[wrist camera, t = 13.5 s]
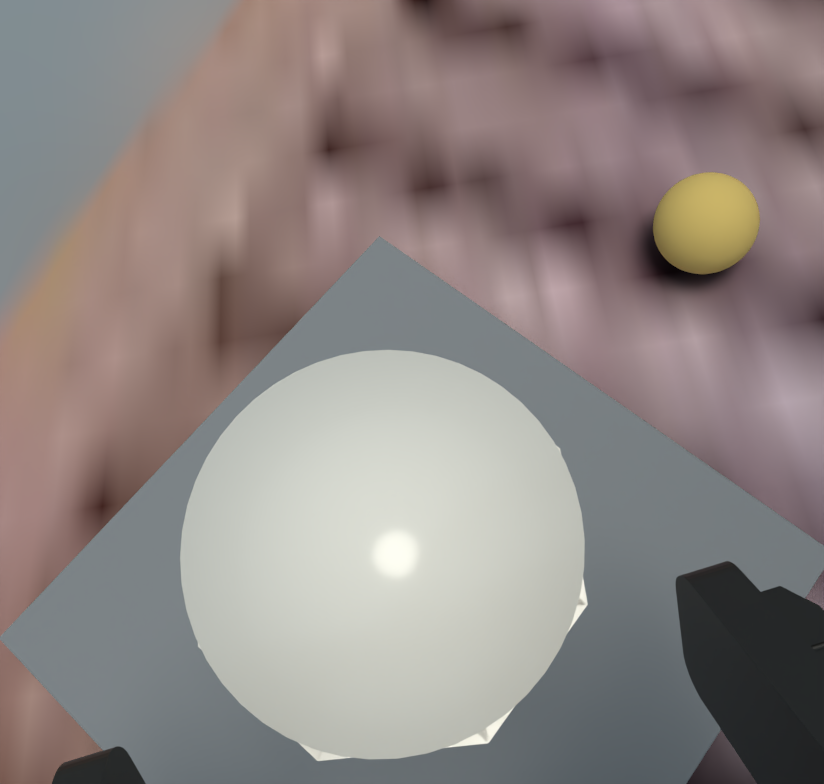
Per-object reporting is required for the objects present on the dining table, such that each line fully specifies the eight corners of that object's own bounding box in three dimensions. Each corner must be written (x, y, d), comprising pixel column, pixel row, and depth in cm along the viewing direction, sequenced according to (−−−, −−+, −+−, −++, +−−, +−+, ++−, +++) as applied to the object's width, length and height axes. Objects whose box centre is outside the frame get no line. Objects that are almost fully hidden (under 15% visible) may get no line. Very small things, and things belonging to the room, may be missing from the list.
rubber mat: (381, 246, 25) (379, 236, 24) (823, 556, 20) (834, 553, 20) (11, 639, 21) (-1, 637, 20) (460, 1119, 17) (460, 1135, 16)
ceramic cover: (401, 452, 21) (359, 283, 12) (567, 581, 20) (665, 503, 11) (264, 614, 20) (97, 565, 11) (432, 767, 19) (407, 865, 9)
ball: (676, 195, 25) (704, 133, 22) (756, 242, 24) (796, 186, 21) (624, 257, 24) (646, 202, 21) (705, 309, 23) (740, 259, 20)
